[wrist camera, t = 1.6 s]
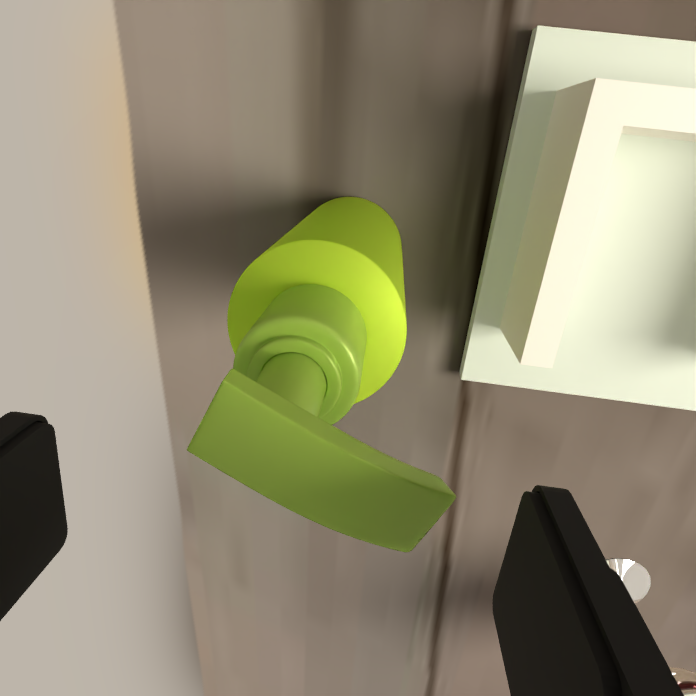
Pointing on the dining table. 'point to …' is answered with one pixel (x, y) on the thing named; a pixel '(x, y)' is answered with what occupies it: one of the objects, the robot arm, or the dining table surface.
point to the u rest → (594, 225)
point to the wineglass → (638, 586)
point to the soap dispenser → (320, 379)
